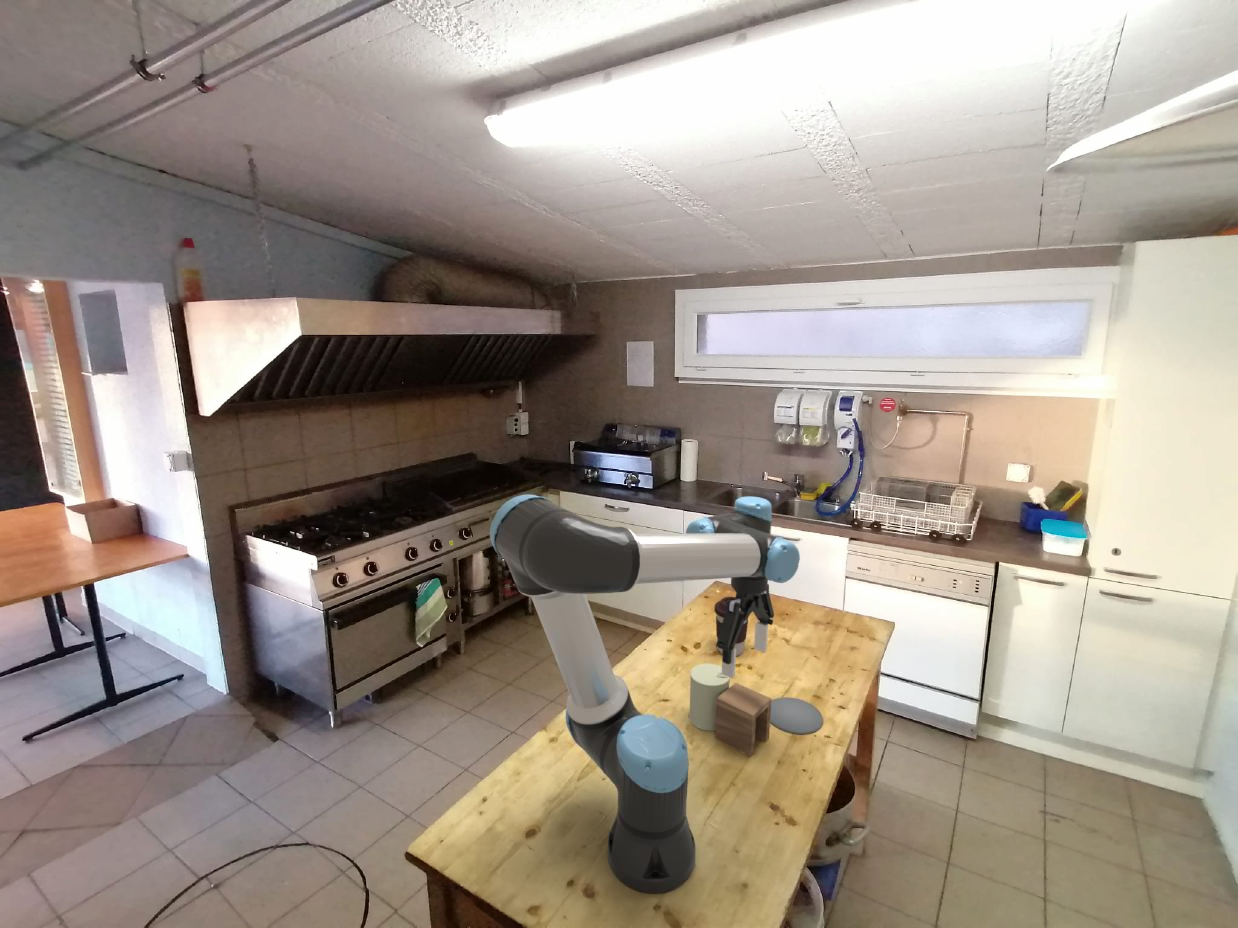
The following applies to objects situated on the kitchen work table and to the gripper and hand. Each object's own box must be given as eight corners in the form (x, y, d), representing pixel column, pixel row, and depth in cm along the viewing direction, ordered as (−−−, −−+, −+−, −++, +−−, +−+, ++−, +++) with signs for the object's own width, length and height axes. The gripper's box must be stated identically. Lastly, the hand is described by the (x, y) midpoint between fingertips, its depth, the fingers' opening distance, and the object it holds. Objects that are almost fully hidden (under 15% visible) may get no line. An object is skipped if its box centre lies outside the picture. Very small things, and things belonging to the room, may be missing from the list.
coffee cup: (753, 647, 170) (755, 599, 167) (740, 663, 162) (743, 612, 159) (721, 638, 175) (723, 591, 172) (707, 652, 167) (709, 603, 164)
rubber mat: (807, 742, 130) (807, 739, 130) (755, 717, 139) (755, 714, 139) (831, 714, 140) (831, 712, 140) (781, 692, 148) (781, 690, 148)
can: (727, 733, 133) (730, 685, 131) (687, 728, 135) (688, 680, 133) (728, 708, 142) (730, 663, 140) (690, 703, 144) (691, 659, 141)
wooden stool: (750, 756, 126) (752, 715, 124) (714, 737, 132) (716, 698, 130) (768, 738, 132) (771, 698, 130) (733, 720, 138) (735, 682, 135)
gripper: (734, 594, 112) (729, 694, 116) (793, 558, 130) (787, 646, 135) (701, 583, 117) (697, 679, 121) (762, 550, 135) (757, 635, 140)
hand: (744, 662), depth 128 cm, fingers open, 13 cm apart
